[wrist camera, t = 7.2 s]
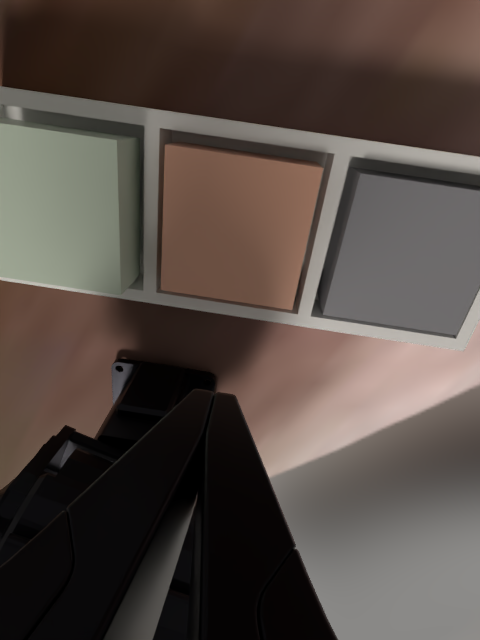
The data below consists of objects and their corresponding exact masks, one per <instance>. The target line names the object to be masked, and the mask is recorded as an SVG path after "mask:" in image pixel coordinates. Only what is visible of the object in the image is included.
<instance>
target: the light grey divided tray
mask: <svg viewBox="0 0 480 640" xmlns="http://www.w3.org/2000/svg"><path fill="white" fill-rule="evenodd" d="M0 117H2V118H9V119H16V120H22V121H29V122H36V123H43V124H49V125H56V126H63V127H70V128H77V129H83V130H90V131H97V132H104V133H110V134H117V135H124V136H131V137H137V138H140V275H139V276H138V277H137V278H136V279H135V280H134V282H133V283H132V284H131V285H130V286H129V287H128V288H127V289H126V291H125V292H124V293H123V294H122V295H115V294H108V293H102V292H95V291H89V290H82V289H76V288H69V287H63V286H56V285H50V284H43V283H37V282H30V281H24V280H17V279H11V278H4V277H0V280H4V281H10V282H17V283H23V284H30V285H36V286H43V287H49V288H56V289H62V290H69V291H75V292H82V293H88V294H95V295H101V296H108V297H114V298H121V299H127V300H134V301H140V302H147V303H153V304H159V305H166V306H172V307H179V308H185V309H192V310H198V311H205V312H211V313H218V314H224V315H231V316H237V317H244V318H250V319H257V320H263V321H270V322H276V323H283V324H289V325H296V326H302V327H309V328H315V329H322V330H328V331H335V332H341V333H348V334H354V335H361V336H367V337H374V338H380V339H387V340H393V341H400V342H406V343H413V344H419V345H426V346H432V347H439V348H445V349H452V350H458V351H464V350H465V348H466V346H467V344H468V342H469V340H470V338H471V336H472V334H473V332H474V330H475V328H476V326H477V324H478V322H479V320H480V286H479V288H478V290H477V292H476V294H475V296H474V299H473V301H472V303H471V305H470V307H469V309H468V311H467V313H466V315H465V317H464V320H463V322H462V324H461V326H460V328H459V330H458V332H457V334H456V335H451V334H444V333H438V332H431V331H425V330H418V329H412V328H405V327H399V326H392V325H386V324H379V323H373V322H366V321H360V320H353V319H347V318H340V317H334V316H327V315H323V313H322V309H321V305H320V301H319V297H318V293H317V292H318V288H319V284H320V280H321V276H322V272H323V268H324V264H325V260H326V256H327V252H328V248H329V244H330V240H331V236H332V232H333V228H334V224H335V220H336V216H337V212H338V208H339V204H340V200H341V196H342V192H343V188H344V184H345V180H346V176H347V172H348V168H349V167H355V168H362V169H369V170H375V171H382V172H389V173H396V174H402V175H409V176H416V177H423V178H430V179H436V180H443V181H450V182H457V183H463V184H470V185H477V186H480V156H473V155H467V154H460V153H453V152H446V151H439V150H433V149H426V148H419V147H412V146H405V145H398V144H392V143H385V142H378V141H371V140H364V139H357V138H351V137H344V136H337V135H330V134H323V133H317V132H310V131H303V130H296V129H289V128H282V127H276V126H269V125H262V124H255V123H248V122H241V121H235V120H228V119H221V118H214V117H207V116H201V115H194V114H187V113H180V112H173V111H166V110H160V109H153V108H146V107H139V106H132V105H125V104H119V103H112V102H105V101H98V100H91V99H85V98H78V97H71V96H64V95H57V94H50V93H44V92H37V91H30V90H23V89H16V88H9V87H3V86H0ZM176 142H186V143H192V144H199V145H206V146H213V147H220V148H226V149H233V150H240V151H247V152H253V153H260V154H267V155H274V156H281V157H287V158H294V159H301V160H308V161H314V162H317V163H319V164H320V165H321V166H322V167H323V172H322V176H321V181H320V185H319V190H318V195H317V199H316V204H315V208H314V213H313V217H312V222H311V226H310V231H309V236H308V240H307V245H306V249H305V254H304V258H303V263H302V267H301V272H300V276H299V281H298V286H297V290H296V295H295V299H294V304H293V308H292V310H288V309H281V308H275V307H268V306H262V305H255V304H249V303H242V302H236V301H229V300H223V299H216V298H210V297H203V296H197V295H190V294H184V293H177V292H171V291H164V290H161V260H162V225H163V191H164V156H165V144H170V143H176Z"/></svg>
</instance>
